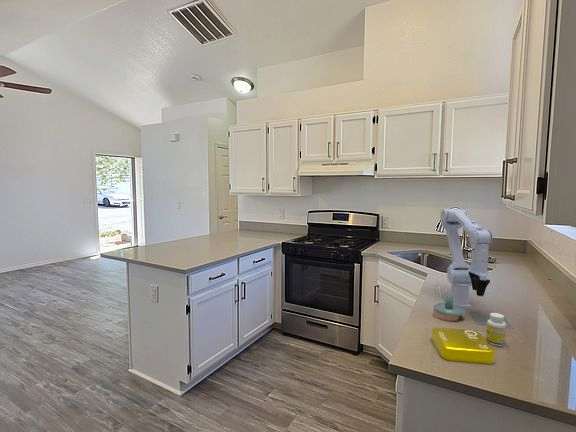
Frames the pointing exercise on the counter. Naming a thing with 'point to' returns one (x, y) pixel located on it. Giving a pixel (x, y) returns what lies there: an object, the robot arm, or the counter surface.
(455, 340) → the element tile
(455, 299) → the robot arm
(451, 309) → the lid
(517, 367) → the counter surface
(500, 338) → the supplement bottle
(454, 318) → the bowl
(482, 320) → the mat
